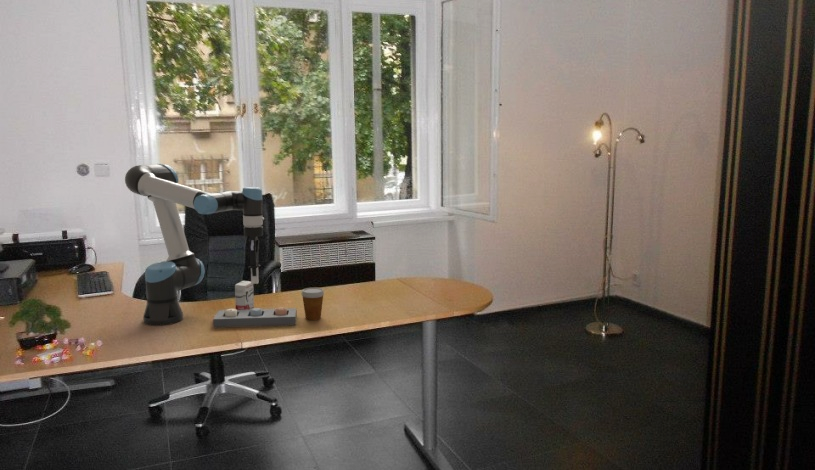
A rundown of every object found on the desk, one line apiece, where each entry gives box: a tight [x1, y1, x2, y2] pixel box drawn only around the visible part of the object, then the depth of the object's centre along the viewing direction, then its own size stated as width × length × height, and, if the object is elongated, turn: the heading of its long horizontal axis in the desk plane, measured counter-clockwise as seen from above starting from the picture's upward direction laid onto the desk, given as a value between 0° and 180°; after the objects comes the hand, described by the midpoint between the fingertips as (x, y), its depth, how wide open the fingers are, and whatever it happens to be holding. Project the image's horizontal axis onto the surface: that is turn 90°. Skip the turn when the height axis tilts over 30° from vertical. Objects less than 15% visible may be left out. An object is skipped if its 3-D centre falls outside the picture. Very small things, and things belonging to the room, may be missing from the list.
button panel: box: [212, 307, 298, 329], centre depth 242 cm, size 32×12×4 cm, turn 98°
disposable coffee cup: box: [301, 287, 325, 321], centre depth 248 cm, size 10×10×12 cm
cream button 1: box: [224, 308, 237, 317], centre depth 241 cm, size 5×5×5 cm
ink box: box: [234, 280, 255, 310], centre depth 259 cm, size 9×5×12 cm, turn 168°
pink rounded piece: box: [274, 306, 287, 315], centre depth 243 cm, size 5×5×5 cm
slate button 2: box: [249, 307, 262, 316], centre depth 242 cm, size 5×5×5 cm
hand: (254, 283), depth 240 cm, fingers closed
